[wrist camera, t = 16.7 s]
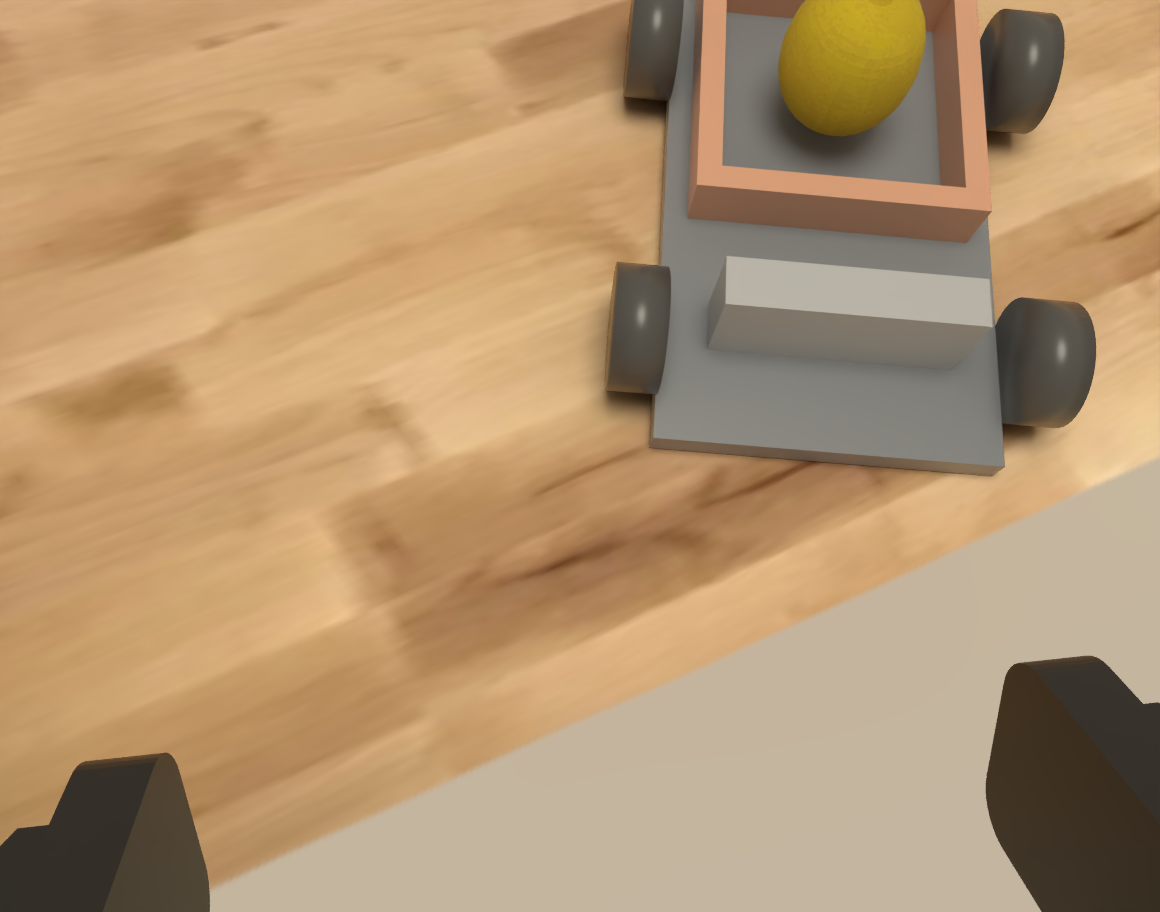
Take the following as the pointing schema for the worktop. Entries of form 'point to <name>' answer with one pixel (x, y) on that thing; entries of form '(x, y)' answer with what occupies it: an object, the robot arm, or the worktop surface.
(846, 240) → the chassis
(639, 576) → the worktop surface
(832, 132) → the lemon
